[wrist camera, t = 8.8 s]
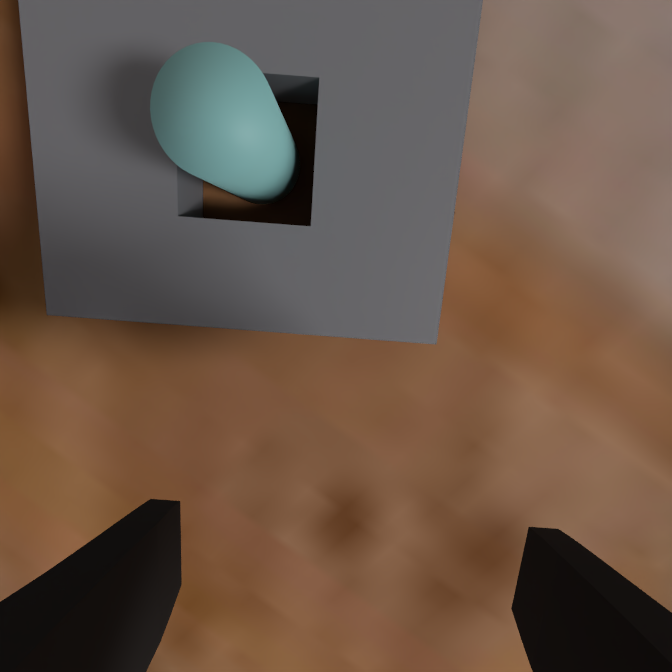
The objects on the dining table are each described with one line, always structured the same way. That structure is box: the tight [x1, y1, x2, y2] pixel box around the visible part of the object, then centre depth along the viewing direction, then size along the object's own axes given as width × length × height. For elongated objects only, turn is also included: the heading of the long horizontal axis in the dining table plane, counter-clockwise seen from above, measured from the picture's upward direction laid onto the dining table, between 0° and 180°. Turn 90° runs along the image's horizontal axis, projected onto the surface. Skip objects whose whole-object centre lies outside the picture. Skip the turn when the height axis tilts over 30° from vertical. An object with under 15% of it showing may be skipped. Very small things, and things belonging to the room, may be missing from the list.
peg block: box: [18, 0, 483, 344], centre depth 14 cm, size 14×12×2 cm
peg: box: [150, 42, 300, 204], centre depth 12 cm, size 3×3×6 cm
